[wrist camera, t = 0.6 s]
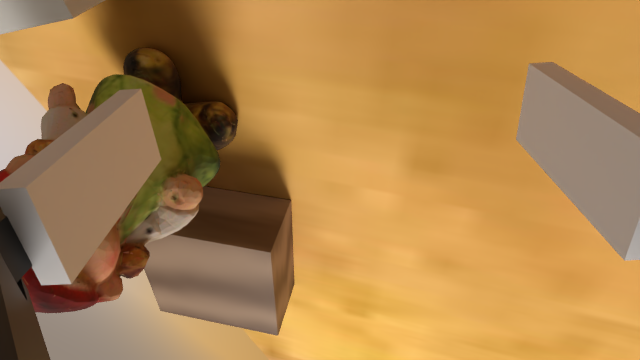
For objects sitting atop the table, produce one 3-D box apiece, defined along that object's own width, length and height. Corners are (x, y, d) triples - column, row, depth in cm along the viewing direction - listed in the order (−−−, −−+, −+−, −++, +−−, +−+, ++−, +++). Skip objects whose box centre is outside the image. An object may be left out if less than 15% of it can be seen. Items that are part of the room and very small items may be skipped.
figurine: (264, 97, 32) (105, 353, 17) (226, 171, 37) (81, 412, 22) (124, 16, 30) (-195, 221, 15) (106, 106, 35) (-139, 321, 20)
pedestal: (163, 179, 40) (127, 226, 35) (291, 200, 38) (270, 252, 33) (187, 263, 47) (160, 310, 43) (294, 284, 45) (278, 335, 41)
